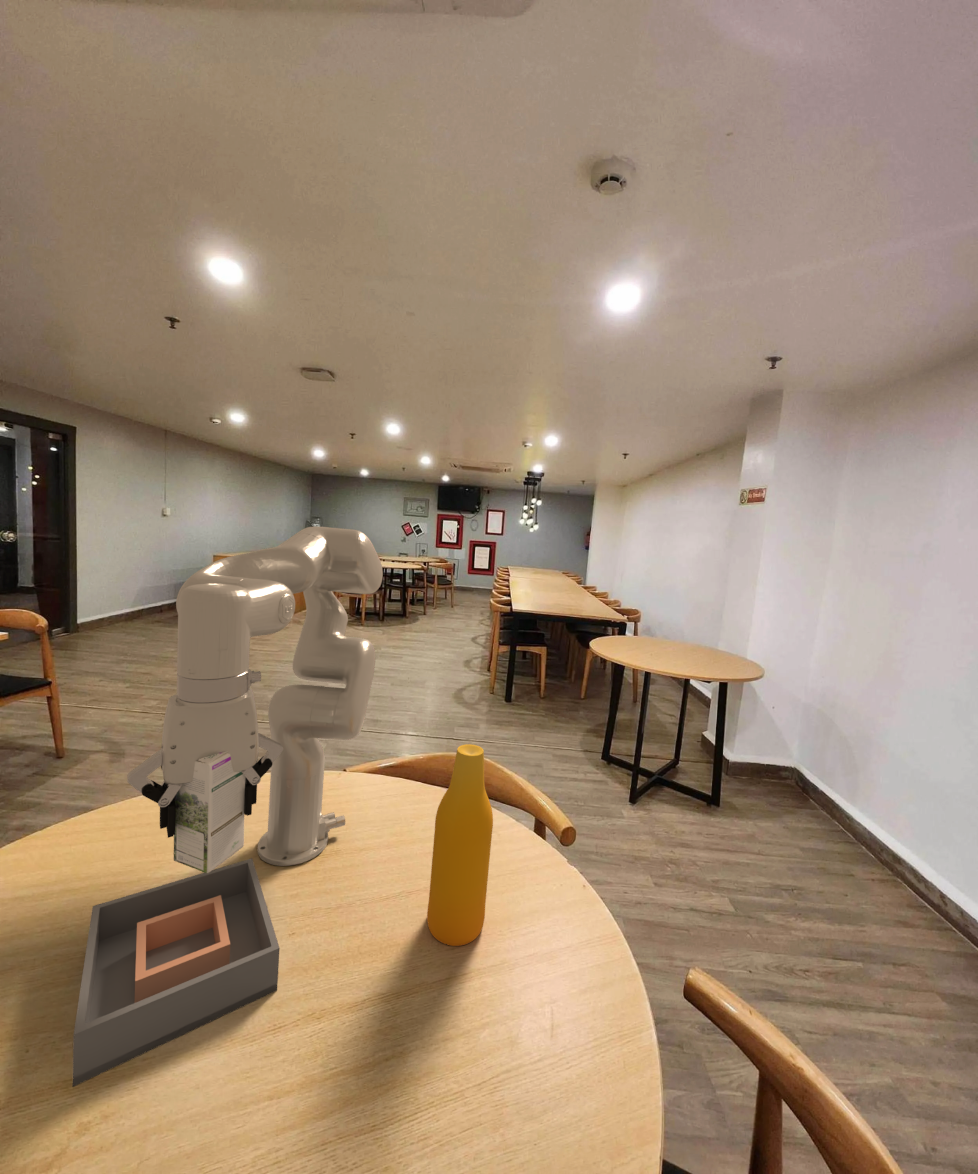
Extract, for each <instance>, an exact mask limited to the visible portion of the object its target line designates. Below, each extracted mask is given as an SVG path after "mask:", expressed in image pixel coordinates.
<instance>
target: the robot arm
mask: <svg viewBox="0 0 978 1174" xmlns="http://www.w3.org/2000/svg"><path fill="white" fill-rule="evenodd" d="M383 575H384V574H383V565H382V561H381V559H380V557H379V555H378V553H377V551H376V549H375V546H374V544H373V543H372V541H371V539H370V538H369V537H368V536H367V535H366V534H365V533H363V532H362V531H361V530H359V529H358V530H357V529H353V528H351V529H350V528H340V527H328V526H317V525H315V526H308V527H305V528H303V529H301V530H299V531H298V532H297V533H295V534H293V535H292V536H290V537H289V538H288V539H286V540H285V541H283V542H282V543H280V544H278V545H277V546H274V547H270V548H269V547H268V548H264V549H258V550H255V551H250V552H246V553H240V554H236V555H231V556H228V557H224V558H220V559H218V560H215V561H213V562H211V563H209V564H208V565H206V566H204V567H201V569H199V570H197V571H196V572H194V573H193V574H192V575H191V576H189V577H188V578H186V580H185V581H184V583H183V584H182V586H181V587H180V588H179V591H178V592H177V596H176V603H175V605H176V606H175V607H176V611H177V654H176V656H177V658H176V694H173V695H171V696H170V697H169V698H168V700H167V704H166V708H165V713H164V718H163V724H162V735H161V748H160V749H159V750H157V751H156V752H154V754H152V755H151V756H149V757H148V758H147V759H146V760H144V761H143V762H141V763H140V764H139V765H137V766H136V767H135V768H133V769H132V770H131V771H129V772H128V773H127V780H126V781H127V783H128V784H129V785H130V786H132V788H134V789H135V790H136V791H139V793H141V795H142V796H143V797H145V798H147V799H149V800H150V801H153V802H154V803H156V804H157V805H158V807H159V829H165V828H166V833H167V838H172V837H173V838H174V835H175V820H176V804H175V798H174V796H175V795H176V793H177V792H178V790H179V789H180V787H181V786H182V784H185V783H190V782H192V781H193V774H194V767H195V761H198V760H199V759H201V758H204V757H208V756H211V755H215V754H219V753H223V752H228V754H230V756H231V763H232V768H233V772H240V771H241V772H242V773H243V774H244V776H245V805H244V816H251V815H252V813H253V812H252V810H253V805H256V804H257V801H258V800H257V798H258V797H257V796H258V795H257V793H258V784H259V783H260V782H261V779H262V777H264V775H266V773H267V772H268V771H270V782H269V783H270V784H269V802H268V819H267V831H266V832H265V833H264V834H263V835H261V837H260V838H259V841H258V843H257V855H258V856H259V858H260V860H262V861H263V862H266V863H267V864H269V865H274V866H280V867H283V866H286V867H289V866H296V865H299V864H302V863H306V862H308V861H310V860H312V859H314V858H315V857H317V856H318V855H319V854H320V853H322V852H323V851H324V850H325V848H326V847H327V845H328V843H329V832H330V830H333V829H337V828H340V827H343V826H346V817H345V816H344V814H343V815H339V816H337V817H336V813H335V812H330V813H327V814H323V813H322V810H323V809H322V808H323V793H324V778H325V765H326V764H325V763H326V757H325V751H324V748H323V745H322V742H321V741H320V740H319V739H323V740H324V739H325V740H335V741H336V740H337V741H349V740H353V739H355V738H357V737H358V736H359V735H360V733H361V731H362V730H363V726H364V724H365V720H366V719H365V718H366V715H367V709H368V706H369V704H368V703H369V699H370V693H371V689H372V684H373V680H374V679H373V678H374V673H375V667H376V650H375V646H374V644H373V643H372V642H371V641H370V640H369V639H368V638H367V639H366V638H363V637H360V636H359V637H358V636H357V637H356V636H349V635H348V636H345V633H346V629H347V626H348V621H349V616H348V614H347V611H346V610H345V608H344V606H343V604H342V603H341V602H340V600H339V599H338V598H337V596H336V595H335V593H334V592H337V593H345V594H347V593H349V594H362V595H370V594H374V593H375V592H377V591H378V590H379V588H380V587H381V585H382V582H383V577H384V576H383ZM299 593H303V598H304V601H305V607H306V608H305V609H306V611H305V618H304V622H303V624H302V625H303V626H302V628H301V631H300V635H299V637H298V642H297V644H296V649H295V652H294V655H293V660H292V672H293V674H294V675H295V676H296V677H297V678H299V679H302V680H305V681H309V682H310V681H311V682H318V683H321V682H322V683H330V684H341V685H345V687H344V688H343V687H335V686H333V687H332V686H324V685H313V684H290V685H286V686H283V687H281V688H279V689H278V690H276V691H275V692H274V693H273V695H272V696H271V699H270V700H269V704H268V707H267V709H268V713H267V715H268V716H267V718H268V724H269V730H270V737H268V736H265V735H263V734H262V733H259V725H258V712H257V704H256V699H255V694H254V691H253V688H252V687H251V686H252V684H255V683H259V682H261V681H262V672H261V671H260V670H258V671H255V670H251V669H250V650H251V648H250V647H251V638H253V637H259V636H269V635H272V634H276V633H278V632H280V631H282V630H283V629H285V628H286V627H287V626H288V625H289V623H290V622H291V621H292V620H293V617H294V615H295V611H296V599H295V596H294V594H299ZM259 748H260V749H263V750H265V751H266V752H265V753H264V755H263V756H262V757H260V759H259V752H260V751H259V750H260V749H259ZM158 768H161V771H162V776H163V782H162V783H161V784H160V783H158V782H156V781H154V780H152V779H150V777H149V775H150V774H152V773H153V772H154V771H157V769H158Z"/></svg>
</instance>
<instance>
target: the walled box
mask: <svg viewBox="0 0 978 1174" xmlns="http://www.w3.org/2000/svg"><path fill="white" fill-rule="evenodd" d="M265 899H266V898H265V895H264V893H263V888H262V886H261V883H260V880H259V876H258V873H257V869H256V866H255V863H254V860H253V858H252V857H251V858H249V859H244V860H241V861H238V862H235V863H232V864H228V865H225V866H222V867H217V868H215V869H213V870H212V871H211V872H209V873H204V872H202V873H198V874H194V875H192V876H188V877H186V878H182V879H179V880H175V881H171V882H169V883H165V884H162V885H158V886H155V887H152V888H149V889H144V890H142V891H138V892H136V893H132V894H128V895H126V896H125V895H124V896H122V897H118V898H116V899H111V900H109V901H106V902H102V903H98V904H95V905H92V909H91V915H90V923H89V927H88V928H89V929H88V930H89V931H88V935H87V936H88V937H87V942H86V949H85V956H84V964H83V970H82V976H81V982H80V989H79V994H78V1003H77V1009H76V1015H75V1021H74V1028H73V1029H74V1030H73V1039H72V1040H73V1042H72V1043H73V1046H72V1047H73V1048H72V1088H74V1087H76V1086H78V1085H80V1084H82V1083H85V1082H86V1081H89V1080H90V1079H92V1078H94V1077H97V1076H99V1075H101V1074H103V1073H105V1072H107V1071H109V1070H111V1069H113V1068H116V1067H118V1066H121V1065H122V1064H124V1063H127V1062H129V1061H130V1060H133V1059H135V1058H137V1057H139V1056H142V1055H144V1054H146V1053H148V1052H149V1051H152V1050H154V1049H157V1048H158V1047H161V1046H162V1045H165V1044H167V1043H169V1042H171V1041H173V1040H175V1039H177V1038H179V1037H182V1036H184V1035H186V1034H188V1033H190V1032H192V1031H195V1030H196V1029H199V1028H200V1027H203V1026H205V1025H208V1024H209V1023H212V1022H213V1021H215V1020H218V1019H220V1018H223V1016H226V1015H228V1014H230V1013H232V1012H235V1011H236V1010H238V1009H241V1008H243V1007H245V1006H247V1005H250V1004H251V1003H253V1002H255V1001H258V1000H260V999H261V998H264V997H267V996H269V995H271V994H273V993H274V992H277V991H278V983H279V982H278V981H279V965H280V964H279V963H280V949H281V948H280V946H279V942H278V939H277V935H276V931H275V928H274V926H273V922H272V919H271V914H270V912H269V910H268V905H267V903H266V900H265Z"/></svg>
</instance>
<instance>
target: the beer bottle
mask: <svg viewBox="0 0 978 1174" xmlns="http://www.w3.org/2000/svg"><path fill="white" fill-rule="evenodd" d="M484 752H485V751H484V749H483V747H481V746H480V745H476V744H469V743H468V744H467V743H466V744H461V745H459V746H458V747H457V749H456V753H455V758H454V763H453V767H452V768H453V769H452V774H451V778H450V783H449V786H448V788H447V789H446V791H445V793H444V795H443V796H442V798H441V799H440V802H439V804H438V808H437V810H436V814H435V819H434V820H435V823H434V834H433V835H434V836H433V847H432V848H433V849H432V857H431V860H432V861H431V870H430V883H429V896H428V905H427V913H426V914H427V915H426V919H427V926H428V930H429V932H430V934H431V935H432V936H433V937H434V938H435V940H437V941H438V942H440V943H442V944H444V945H446V944H447V946H450V947H451V946H452V947H459V946H465V945H468V944H470V943H471V942H473V941H475V939H477V938H478V937H479V935H480V934H481V932H482V930H483V927H484V923H485V918H486V903H487V891H488V880H489V867H490V860H491V859H490V857H491V849H492V837H493V829H494V827H493V826H494V818H493V817H494V816H493V808H492V805H491V801H490V800H489V797H488V794H487V791H486V787H485V786H486V785H485V754H484Z"/></svg>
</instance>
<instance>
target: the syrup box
mask: <svg viewBox="0 0 978 1174" xmlns="http://www.w3.org/2000/svg"><path fill="white" fill-rule="evenodd" d="M174 798H175V804H176V820H175V835H173V861H174V862H176V863H178V864H181V865H184V866H187V867H190V868H192V869H195V870H196V871H199V872H202V873H209V872H211V871H212V870H215V869H217V868H219V866H220V865H222V864H223V863H225V862H226V861H227V860H229V858H231V857H232V856H233V855H234V854H236V853H238V852H239V851H240V850H241V849H242V848H244V846H245V814H244V805H245V776H244V774H243V773H242V772H241V771H240V772H233V768H232V763H231V756H230V754H228V752H223V753H219V754H215V755H211V756H208V757H204V758H201V759H199V760H198V761H195V767H194V774H193V781H192V782H190V783H185V784H182V786H181V787H180V789H179V790H178V792H177V793H176V795H175V796H174Z"/></svg>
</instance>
